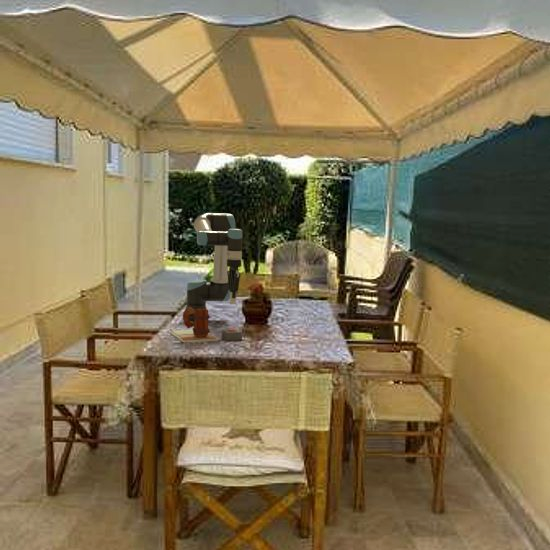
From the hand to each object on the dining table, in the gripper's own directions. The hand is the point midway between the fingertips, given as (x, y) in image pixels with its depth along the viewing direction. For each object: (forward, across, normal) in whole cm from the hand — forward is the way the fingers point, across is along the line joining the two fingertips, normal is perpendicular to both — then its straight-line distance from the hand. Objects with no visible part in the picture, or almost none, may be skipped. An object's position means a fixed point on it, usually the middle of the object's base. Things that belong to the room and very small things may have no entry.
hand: (232, 304), depth 330 cm
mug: (+17, -4, -18) cm, 25 cm away
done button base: (+18, 0, 0) cm, 18 cm away
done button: (+17, 0, 0) cm, 17 cm away
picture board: (+18, -9, -18) cm, 27 cm away
